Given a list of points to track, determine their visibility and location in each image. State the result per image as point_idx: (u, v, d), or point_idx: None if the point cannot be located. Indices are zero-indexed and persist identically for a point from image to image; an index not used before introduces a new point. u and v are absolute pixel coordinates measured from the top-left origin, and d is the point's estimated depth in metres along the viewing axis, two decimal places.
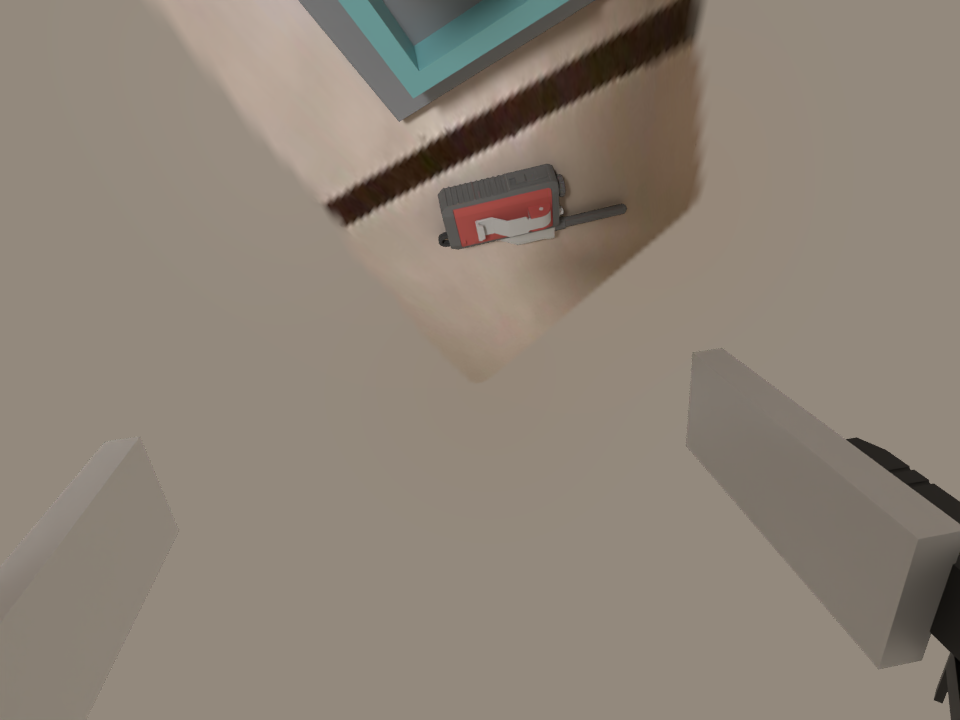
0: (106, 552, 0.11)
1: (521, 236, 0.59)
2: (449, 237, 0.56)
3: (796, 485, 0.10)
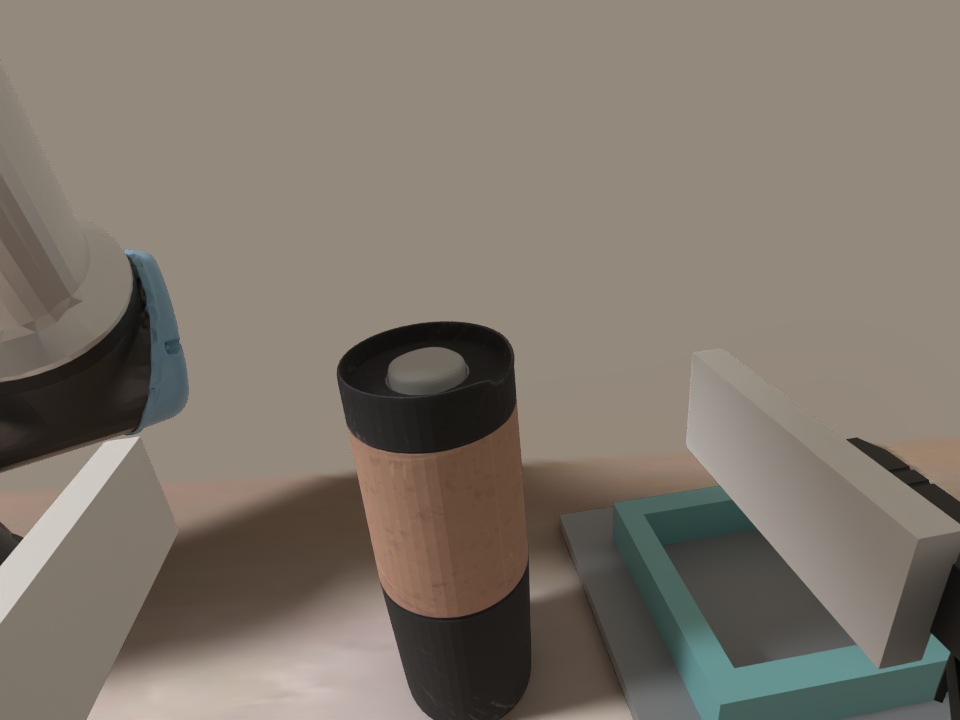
0: (106, 552, 0.11)
1: None
2: None
3: (796, 485, 0.10)
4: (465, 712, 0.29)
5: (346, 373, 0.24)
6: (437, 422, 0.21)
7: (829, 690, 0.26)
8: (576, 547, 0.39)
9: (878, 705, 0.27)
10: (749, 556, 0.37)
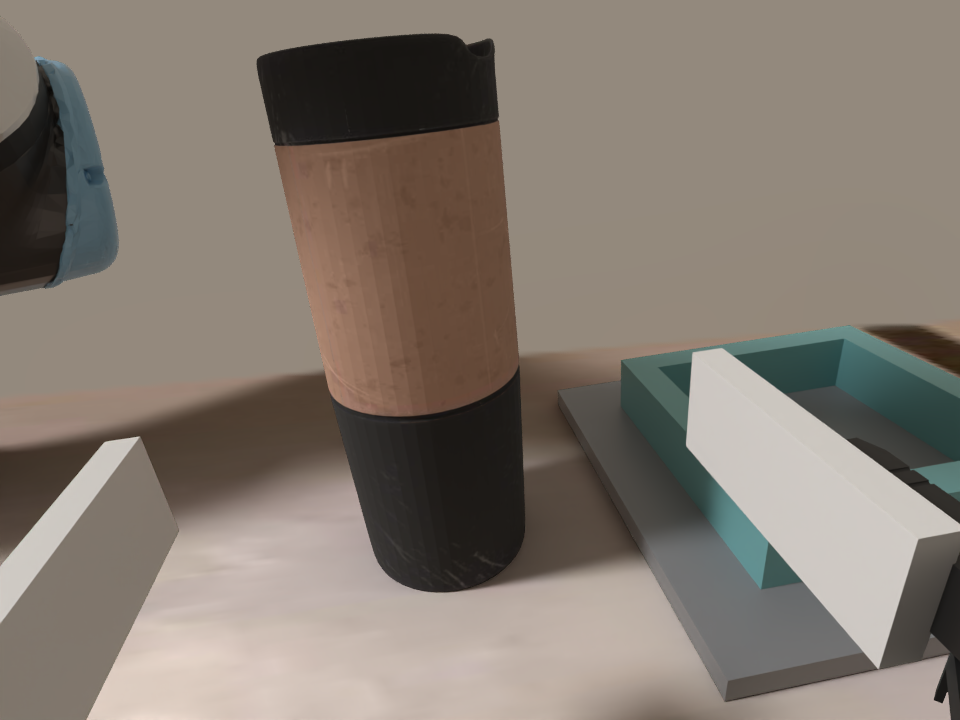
0: (106, 552, 0.11)
1: None
2: None
3: (796, 485, 0.10)
4: (441, 566, 0.23)
5: None
6: (386, 84, 0.15)
7: None
8: (578, 416, 0.33)
9: None
10: None
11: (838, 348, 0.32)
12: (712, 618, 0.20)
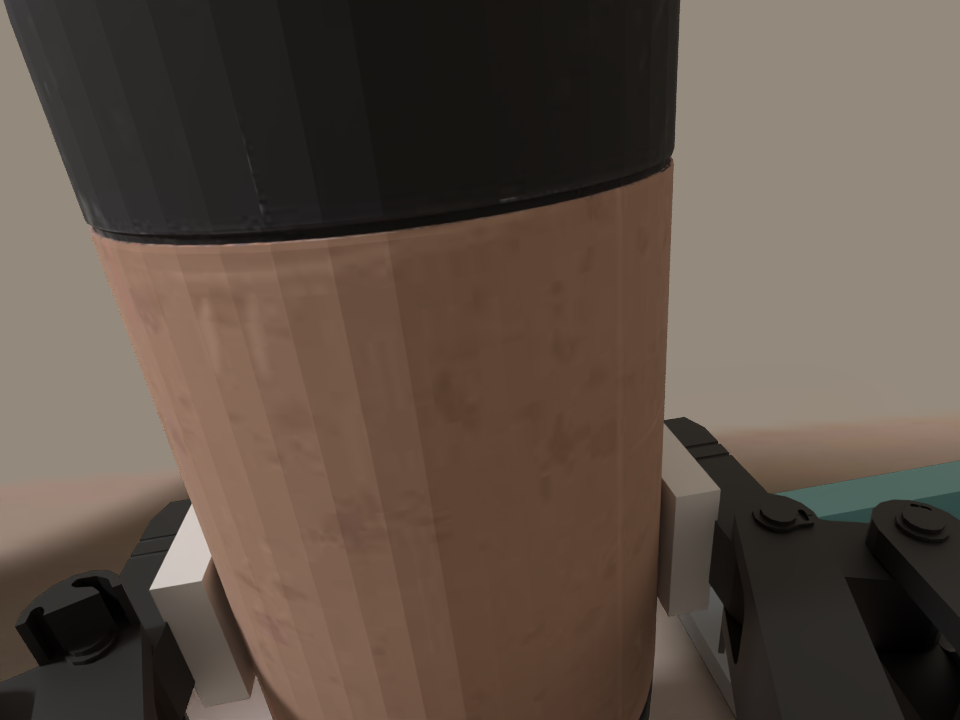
0: None
1: None
2: None
3: None
4: None
5: None
6: (388, 45, 0.04)
7: None
8: None
9: None
10: None
11: None
12: None
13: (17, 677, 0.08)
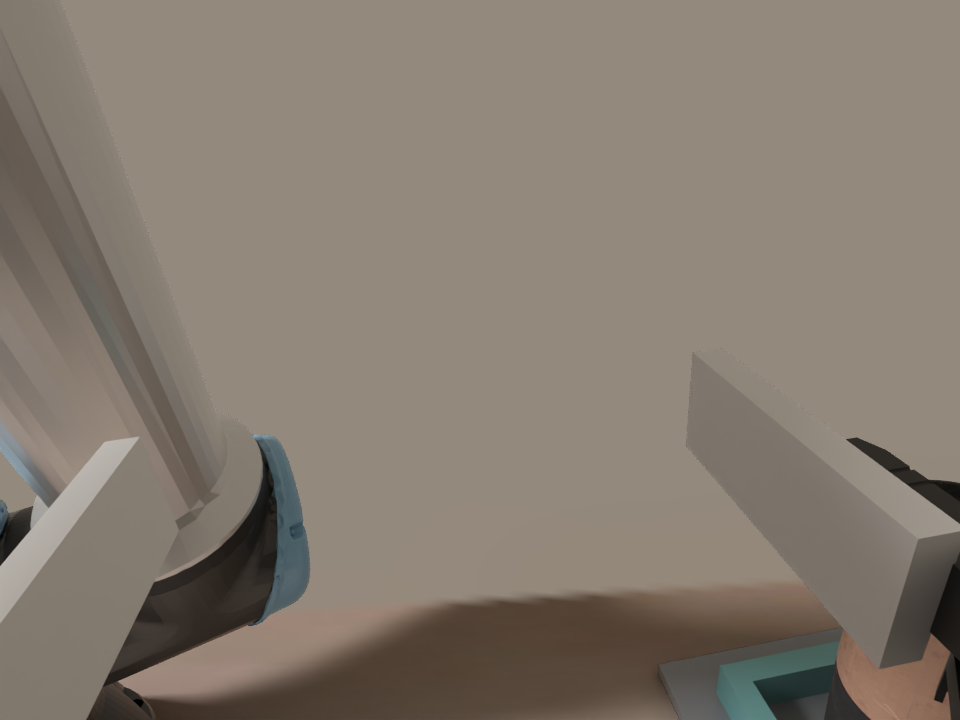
0: (106, 552, 0.11)
1: None
2: None
3: (796, 485, 0.10)
4: None
5: None
6: None
7: None
8: (683, 706, 0.40)
9: None
10: None
11: None
12: None
13: None
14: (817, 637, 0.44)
